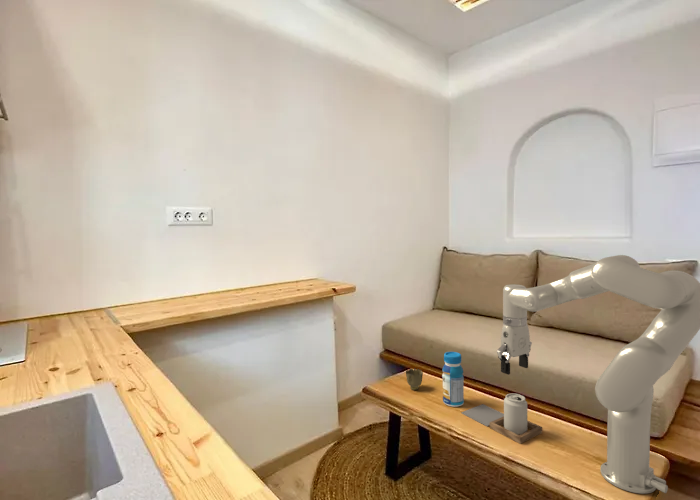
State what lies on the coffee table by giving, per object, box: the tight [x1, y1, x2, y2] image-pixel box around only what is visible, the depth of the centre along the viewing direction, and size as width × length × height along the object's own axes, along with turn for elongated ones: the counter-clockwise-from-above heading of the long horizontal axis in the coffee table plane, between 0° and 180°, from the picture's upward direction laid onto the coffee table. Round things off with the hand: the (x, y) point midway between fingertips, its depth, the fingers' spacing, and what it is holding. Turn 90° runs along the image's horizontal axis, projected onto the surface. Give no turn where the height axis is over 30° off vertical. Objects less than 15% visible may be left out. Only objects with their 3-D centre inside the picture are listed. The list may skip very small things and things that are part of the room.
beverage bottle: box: [441, 351, 465, 408], centre depth 155 cm, size 8×8×20 cm
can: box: [503, 393, 528, 436], centre depth 134 cm, size 8×8×12 cm
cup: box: [405, 368, 424, 391], centre depth 170 cm, size 8×7×8 cm
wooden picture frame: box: [489, 417, 543, 444], centre depth 134 cm, size 12×12×2 cm
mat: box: [461, 403, 504, 428], centre depth 145 cm, size 12×12×1 cm
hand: (514, 370), depth 133 cm, fingers open, 9 cm apart
